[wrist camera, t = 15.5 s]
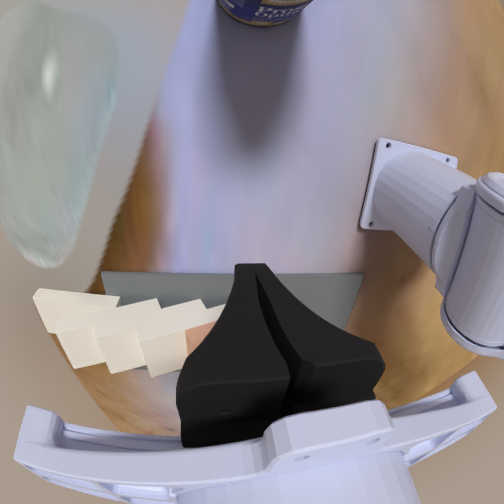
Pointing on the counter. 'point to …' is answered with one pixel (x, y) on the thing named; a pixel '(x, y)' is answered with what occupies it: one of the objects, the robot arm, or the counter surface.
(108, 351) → the domino
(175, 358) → the domino
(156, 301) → the domino
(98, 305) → the domino
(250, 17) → the pill bottle
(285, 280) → the slate mat
